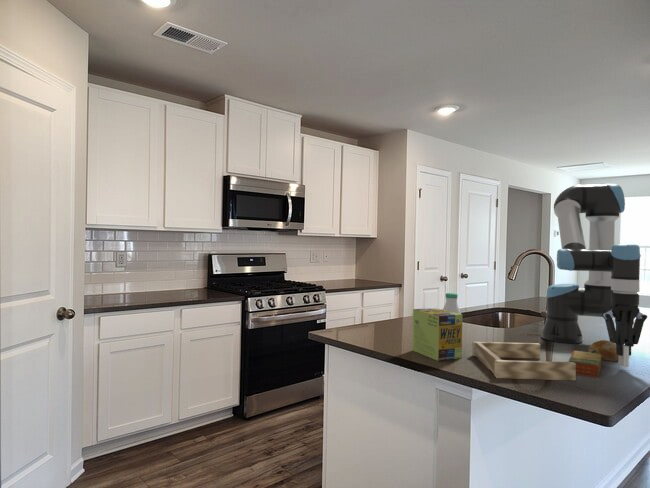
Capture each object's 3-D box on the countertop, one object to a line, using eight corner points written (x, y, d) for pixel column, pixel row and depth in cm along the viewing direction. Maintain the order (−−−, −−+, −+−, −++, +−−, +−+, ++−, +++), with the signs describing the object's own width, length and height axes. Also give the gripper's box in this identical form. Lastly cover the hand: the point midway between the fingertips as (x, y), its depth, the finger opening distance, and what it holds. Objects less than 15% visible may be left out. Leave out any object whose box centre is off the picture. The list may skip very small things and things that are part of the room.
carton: (601, 366, 143) (602, 353, 142) (599, 379, 129) (599, 364, 129) (573, 361, 147) (573, 349, 147) (567, 373, 134) (567, 360, 134)
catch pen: (538, 357, 151) (538, 343, 151) (575, 380, 126) (575, 363, 126) (472, 355, 153) (472, 341, 153) (496, 378, 128) (496, 361, 128)
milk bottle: (462, 346, 166) (462, 295, 166) (441, 345, 167) (442, 294, 167) (459, 341, 173) (460, 292, 173) (440, 340, 175) (440, 292, 175)
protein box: (438, 361, 145) (439, 315, 145) (411, 350, 159) (412, 308, 159) (462, 358, 149) (463, 314, 149) (434, 348, 163) (435, 307, 163)
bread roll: (616, 373, 147) (628, 353, 145) (584, 356, 151) (596, 336, 150) (614, 365, 155) (626, 347, 153) (585, 350, 160) (596, 331, 158)
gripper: (638, 291, 141) (636, 362, 141) (597, 290, 142) (595, 361, 142) (654, 294, 133) (652, 369, 133) (610, 293, 134) (609, 368, 134)
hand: (623, 365), depth 138 cm, fingers closed
